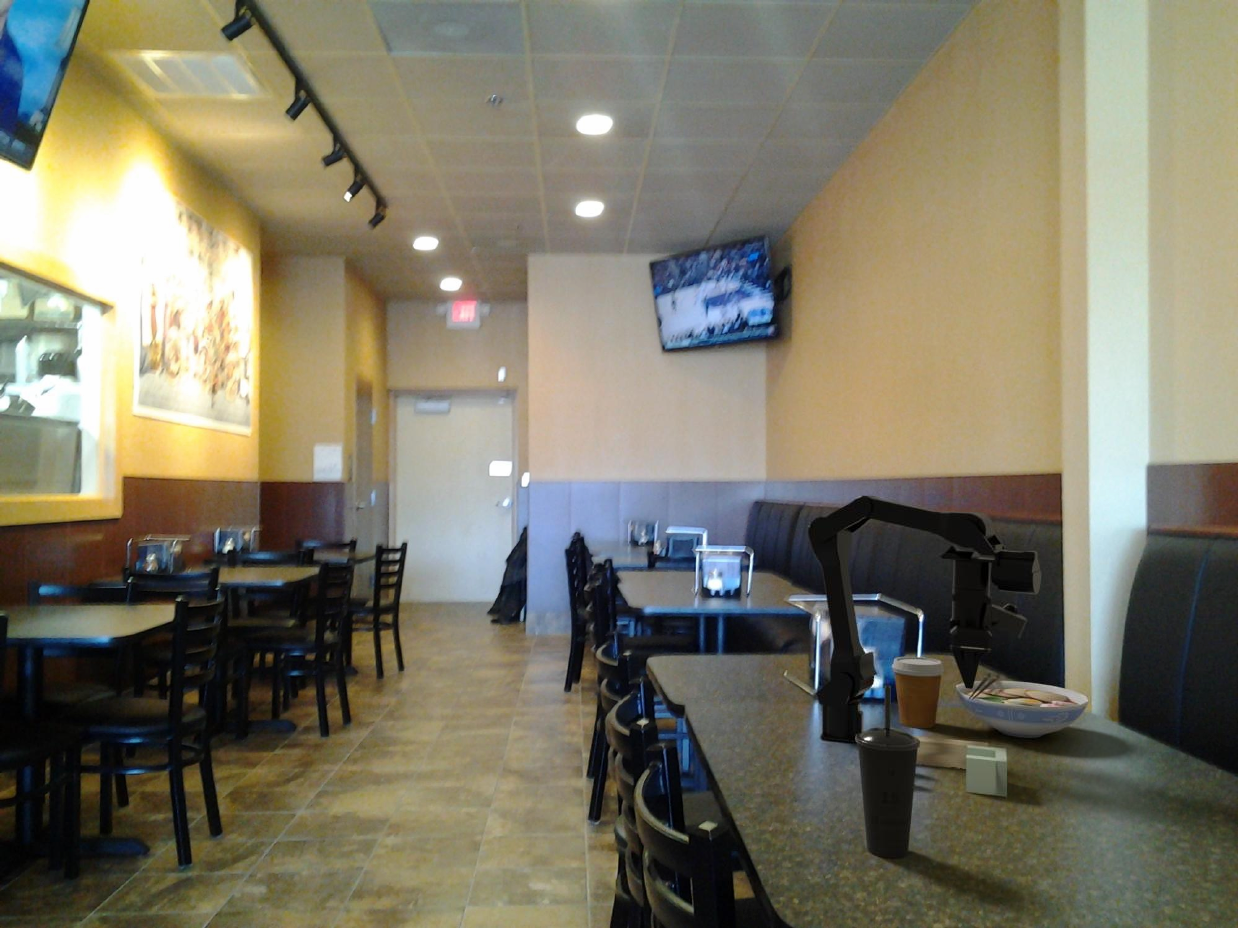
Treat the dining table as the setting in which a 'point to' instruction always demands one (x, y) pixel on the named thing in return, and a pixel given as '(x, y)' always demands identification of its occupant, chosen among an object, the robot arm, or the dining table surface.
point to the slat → (944, 752)
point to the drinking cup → (887, 785)
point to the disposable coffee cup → (917, 690)
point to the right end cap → (986, 770)
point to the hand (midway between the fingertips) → (968, 682)
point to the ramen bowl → (1022, 706)
